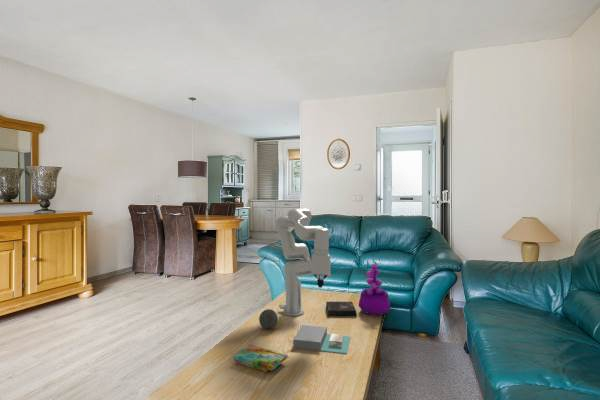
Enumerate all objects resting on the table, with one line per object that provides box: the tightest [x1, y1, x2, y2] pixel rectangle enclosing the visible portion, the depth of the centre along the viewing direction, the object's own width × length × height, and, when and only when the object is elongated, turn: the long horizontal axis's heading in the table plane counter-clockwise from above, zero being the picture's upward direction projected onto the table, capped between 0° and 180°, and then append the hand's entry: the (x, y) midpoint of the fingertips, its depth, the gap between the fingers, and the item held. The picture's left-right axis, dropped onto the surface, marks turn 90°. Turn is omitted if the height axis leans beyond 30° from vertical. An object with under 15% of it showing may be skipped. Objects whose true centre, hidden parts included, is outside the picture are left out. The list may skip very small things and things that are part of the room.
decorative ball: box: [258, 308, 279, 330], centre depth 178 cm, size 10×10×10 cm
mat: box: [320, 333, 351, 355], centre depth 159 cm, size 12×18×1 cm, turn 166°
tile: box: [329, 333, 345, 347], centre depth 159 cm, size 6×8×2 cm
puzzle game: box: [232, 344, 289, 373], centre depth 141 cm, size 12×5×20 cm
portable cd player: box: [325, 301, 358, 318], centre depth 203 cm, size 16×17×4 cm
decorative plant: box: [358, 263, 391, 316], centre depth 201 cm, size 19×18×30 cm
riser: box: [292, 324, 328, 352], centre depth 162 cm, size 13×18×4 cm
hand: (320, 286), depth 172 cm, fingers closed
